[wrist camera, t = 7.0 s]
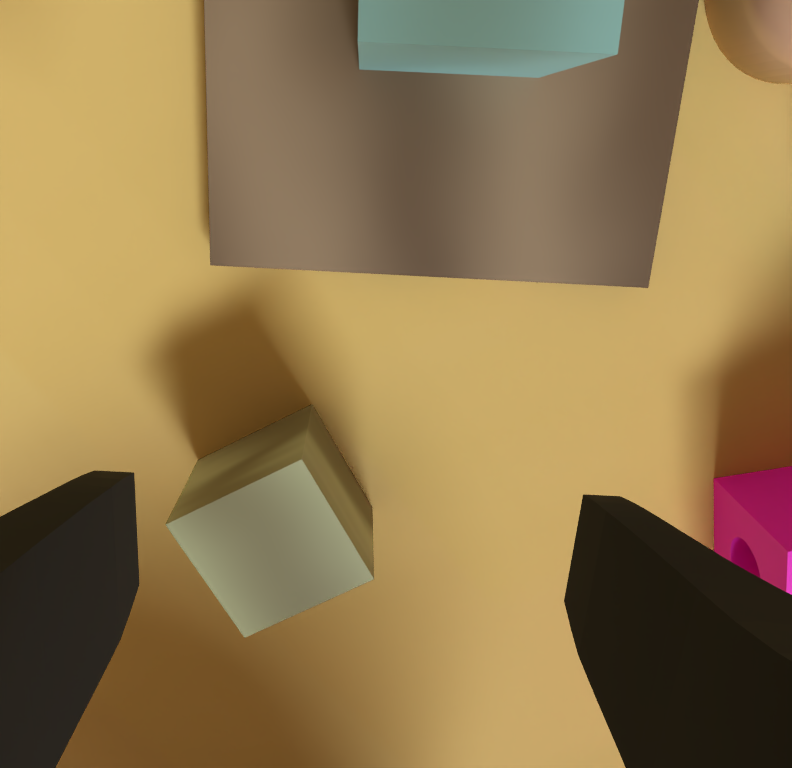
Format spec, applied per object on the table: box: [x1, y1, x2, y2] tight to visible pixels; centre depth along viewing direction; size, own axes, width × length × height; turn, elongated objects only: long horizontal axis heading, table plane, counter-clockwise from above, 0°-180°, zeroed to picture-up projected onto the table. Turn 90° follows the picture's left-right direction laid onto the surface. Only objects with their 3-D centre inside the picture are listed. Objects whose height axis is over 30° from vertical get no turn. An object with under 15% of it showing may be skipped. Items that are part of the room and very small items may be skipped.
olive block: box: [166, 405, 374, 638], centre depth 21 cm, size 4×4×4 cm
